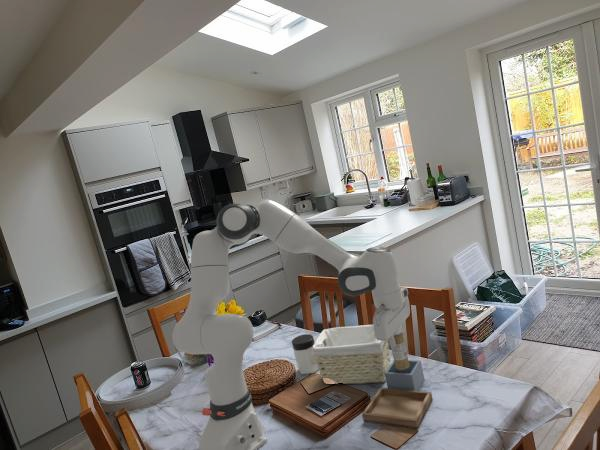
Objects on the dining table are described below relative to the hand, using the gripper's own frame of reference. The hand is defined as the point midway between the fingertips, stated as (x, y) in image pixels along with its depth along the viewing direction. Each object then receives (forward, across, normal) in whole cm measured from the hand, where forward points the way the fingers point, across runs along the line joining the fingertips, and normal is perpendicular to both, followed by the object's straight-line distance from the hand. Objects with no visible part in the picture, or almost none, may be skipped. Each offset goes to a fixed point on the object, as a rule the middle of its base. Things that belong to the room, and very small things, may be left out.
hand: (397, 341), depth 143 cm
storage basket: (+16, +6, +20) cm, 26 cm away
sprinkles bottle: (+9, 0, 0) cm, 9 cm away
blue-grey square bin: (+15, +1, 0) cm, 16 cm away
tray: (+16, -12, -2) cm, 20 cm away
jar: (+16, +6, +40) cm, 44 cm away
